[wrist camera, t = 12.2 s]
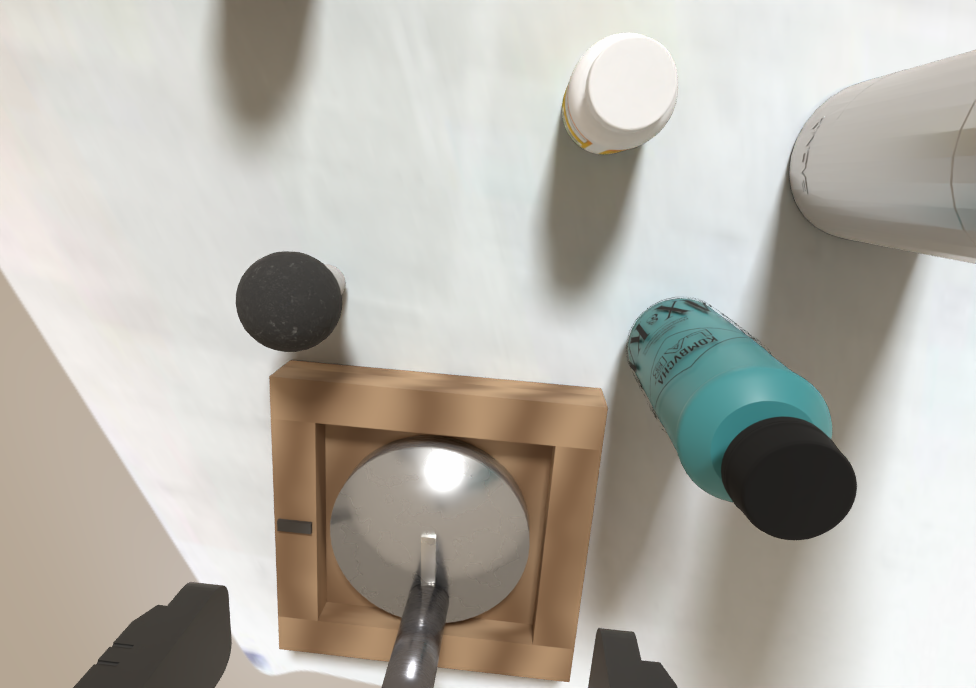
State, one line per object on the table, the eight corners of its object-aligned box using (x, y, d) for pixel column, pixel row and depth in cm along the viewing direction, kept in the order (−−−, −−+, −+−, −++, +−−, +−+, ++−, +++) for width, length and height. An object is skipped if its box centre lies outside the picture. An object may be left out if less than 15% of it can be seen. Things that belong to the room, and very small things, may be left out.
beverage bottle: (739, 320, 38) (952, 464, 19) (681, 400, 40) (822, 607, 21) (655, 271, 38) (786, 368, 18) (600, 355, 39) (668, 524, 20)
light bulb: (387, 270, 39) (341, 301, 29) (345, 335, 40) (288, 385, 31) (316, 221, 38) (246, 236, 29) (276, 289, 40) (196, 325, 30)
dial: (334, 429, 41) (274, 507, 31) (534, 441, 40) (536, 525, 30) (342, 597, 44) (291, 712, 35) (524, 610, 44) (523, 732, 34)
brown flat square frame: (601, 388, 40) (608, 410, 36) (566, 645, 46) (569, 686, 42) (290, 360, 41) (266, 378, 37) (297, 615, 47) (277, 653, 44)
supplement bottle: (665, 79, 34) (716, 42, 25) (628, 167, 36) (663, 164, 27) (581, 46, 34) (601, -3, 25) (547, 136, 36) (554, 122, 26)
